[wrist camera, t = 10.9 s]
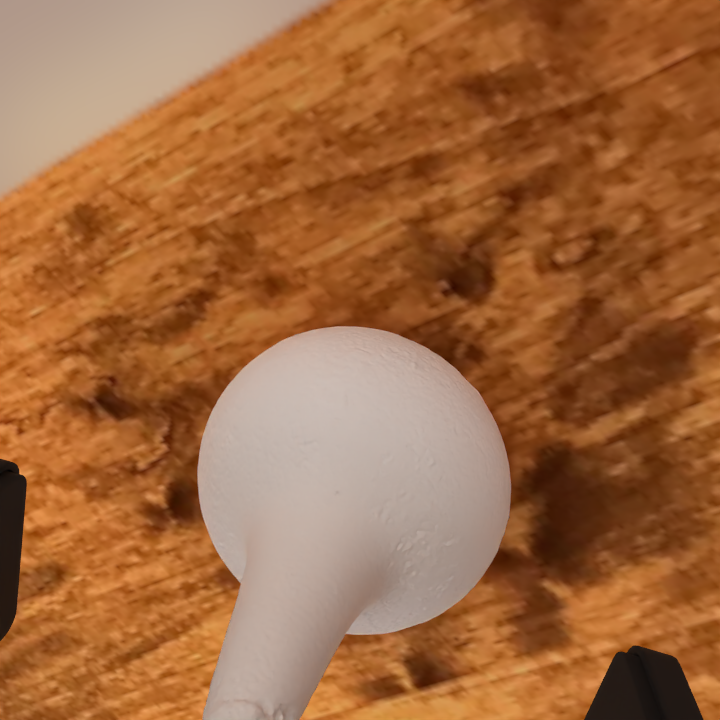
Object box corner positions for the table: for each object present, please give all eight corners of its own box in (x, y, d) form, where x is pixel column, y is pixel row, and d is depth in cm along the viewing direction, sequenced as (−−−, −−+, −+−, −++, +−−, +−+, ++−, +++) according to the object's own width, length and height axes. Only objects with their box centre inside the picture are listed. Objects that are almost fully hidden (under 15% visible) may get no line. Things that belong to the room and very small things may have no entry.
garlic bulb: (567, 446, 14) (679, 790, 7) (375, 608, 17) (303, 1004, 9) (348, 248, 14) (209, 394, 6) (177, 444, 16) (-80, 728, 8)
